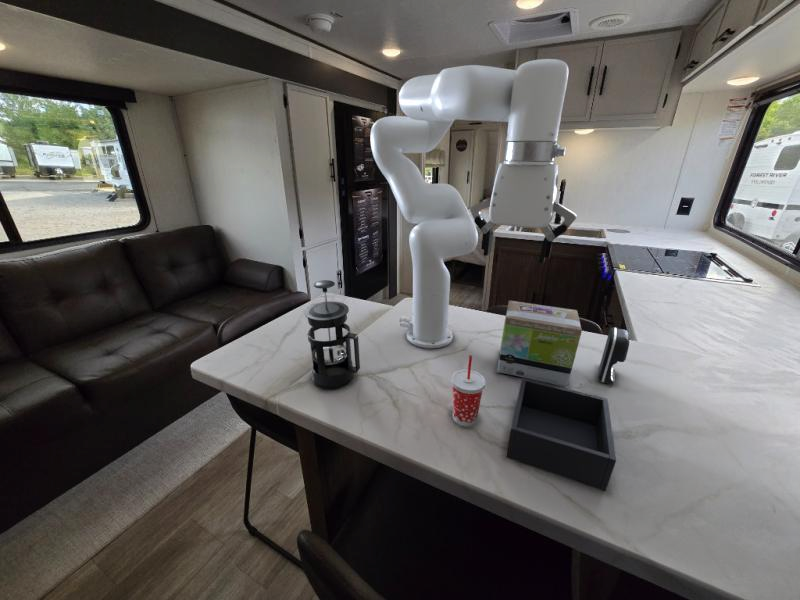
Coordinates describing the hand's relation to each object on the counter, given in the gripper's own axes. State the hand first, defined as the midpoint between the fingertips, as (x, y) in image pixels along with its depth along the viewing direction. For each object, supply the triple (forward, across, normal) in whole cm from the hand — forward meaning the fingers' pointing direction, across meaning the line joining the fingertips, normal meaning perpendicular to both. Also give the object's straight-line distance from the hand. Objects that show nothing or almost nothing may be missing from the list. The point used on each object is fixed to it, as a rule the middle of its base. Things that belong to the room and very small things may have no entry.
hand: (513, 257), depth 61 cm
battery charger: (+29, -22, -15) cm, 40 cm away
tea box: (+30, -6, -11) cm, 32 cm away
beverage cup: (+30, +3, +12) cm, 32 cm away
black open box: (+29, -13, +10) cm, 33 cm away
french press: (+30, +33, +13) cm, 46 cm away
